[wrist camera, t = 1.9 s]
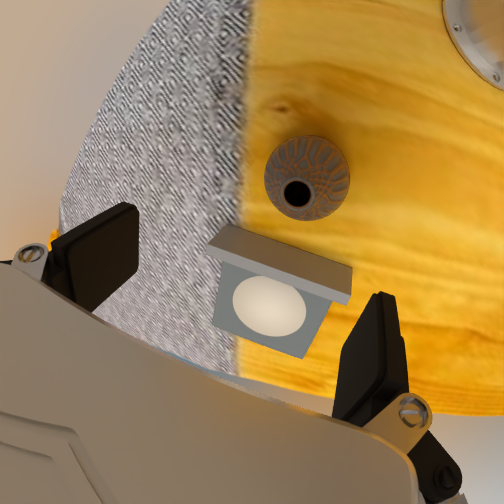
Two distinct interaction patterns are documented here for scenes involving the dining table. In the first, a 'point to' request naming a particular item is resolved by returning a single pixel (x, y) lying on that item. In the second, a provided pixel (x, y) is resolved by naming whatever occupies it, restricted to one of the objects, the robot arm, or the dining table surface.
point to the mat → (268, 311)
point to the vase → (307, 178)
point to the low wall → (282, 263)
